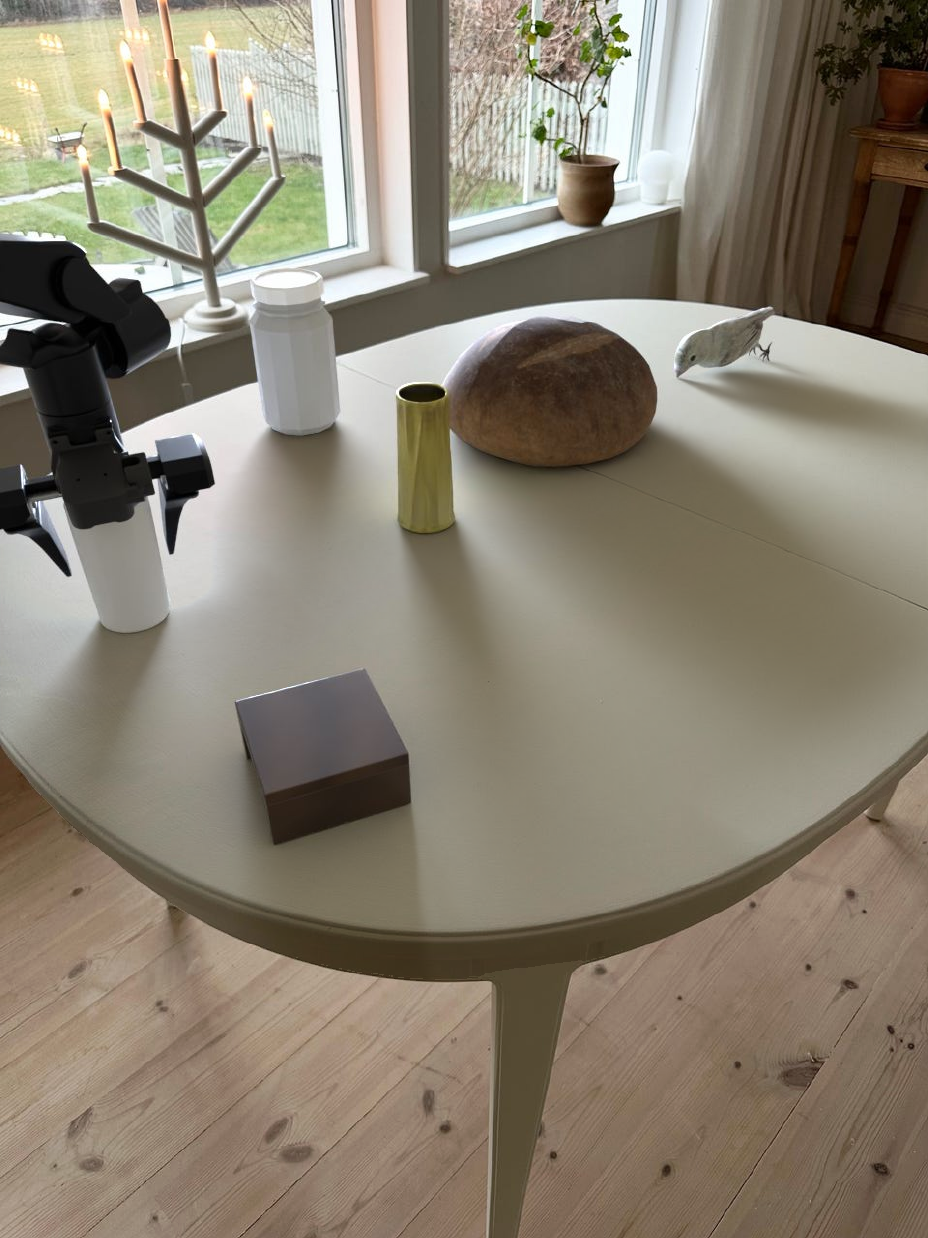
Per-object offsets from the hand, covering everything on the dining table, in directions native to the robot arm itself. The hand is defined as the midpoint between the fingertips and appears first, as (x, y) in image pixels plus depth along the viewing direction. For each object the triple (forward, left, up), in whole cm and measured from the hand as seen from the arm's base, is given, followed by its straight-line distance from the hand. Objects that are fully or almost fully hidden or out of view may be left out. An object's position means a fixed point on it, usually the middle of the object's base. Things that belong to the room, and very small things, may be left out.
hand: (120, 563), depth 83 cm
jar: (+25, +33, -5) cm, 41 cm away
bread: (+53, +20, -5) cm, 57 cm away
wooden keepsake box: (+11, -28, -5) cm, 30 cm away
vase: (+31, +4, -5) cm, 31 cm away
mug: (0, 0, -5) cm, 5 cm away
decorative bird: (+85, +28, -5) cm, 89 cm away
